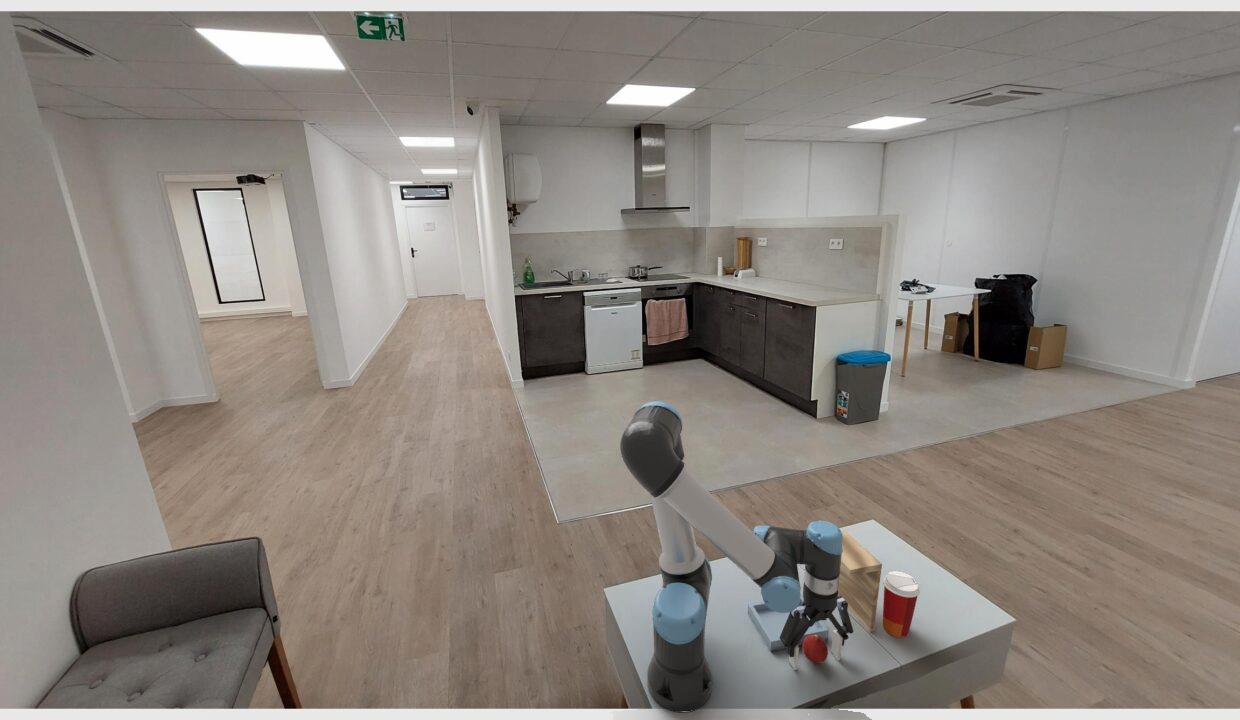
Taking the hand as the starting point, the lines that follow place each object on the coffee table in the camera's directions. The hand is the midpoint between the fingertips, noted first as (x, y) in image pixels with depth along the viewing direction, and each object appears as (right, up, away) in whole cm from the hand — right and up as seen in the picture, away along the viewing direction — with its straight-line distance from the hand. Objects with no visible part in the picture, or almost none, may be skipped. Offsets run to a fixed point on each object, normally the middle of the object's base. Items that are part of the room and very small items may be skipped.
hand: (814, 660), depth 119 cm
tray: (-3, +3, +11) cm, 12 cm away
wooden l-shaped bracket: (+13, +4, +14) cm, 19 cm away
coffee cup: (+25, +3, +9) cm, 26 cm away
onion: (0, 0, 0) cm, 0 cm away
